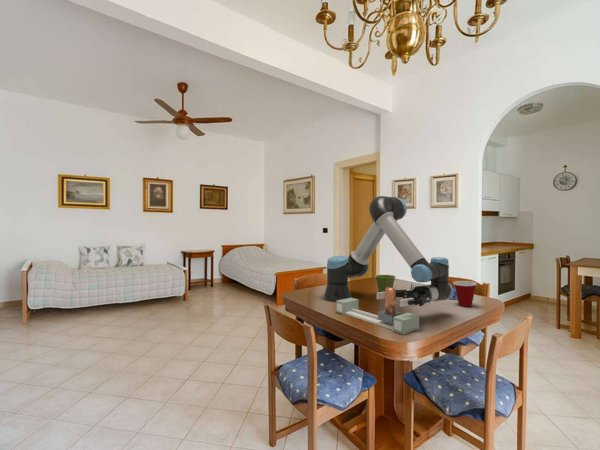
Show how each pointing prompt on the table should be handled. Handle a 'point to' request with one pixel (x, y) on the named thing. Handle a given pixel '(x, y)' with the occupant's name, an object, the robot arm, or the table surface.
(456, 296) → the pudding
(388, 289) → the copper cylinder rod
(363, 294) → the table surface
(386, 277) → the plant pot
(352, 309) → the rail board
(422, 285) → the ceramic mug
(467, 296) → the plastic cup
